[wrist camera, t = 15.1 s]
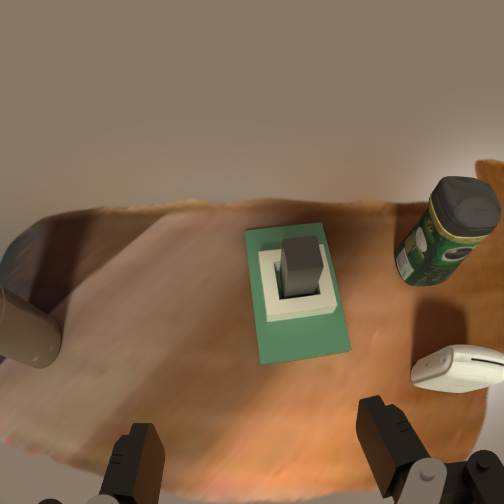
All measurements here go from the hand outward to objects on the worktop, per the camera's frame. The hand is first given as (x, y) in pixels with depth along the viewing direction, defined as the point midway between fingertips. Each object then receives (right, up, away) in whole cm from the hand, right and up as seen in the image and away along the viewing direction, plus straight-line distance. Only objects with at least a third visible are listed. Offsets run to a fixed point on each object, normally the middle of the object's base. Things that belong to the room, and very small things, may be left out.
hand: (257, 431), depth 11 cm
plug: (+6, +2, +33) cm, 34 cm away
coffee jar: (+27, +5, +35) cm, 44 cm away
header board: (+6, +1, +34) cm, 35 cm away
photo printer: (+27, -11, +27) cm, 39 cm away
